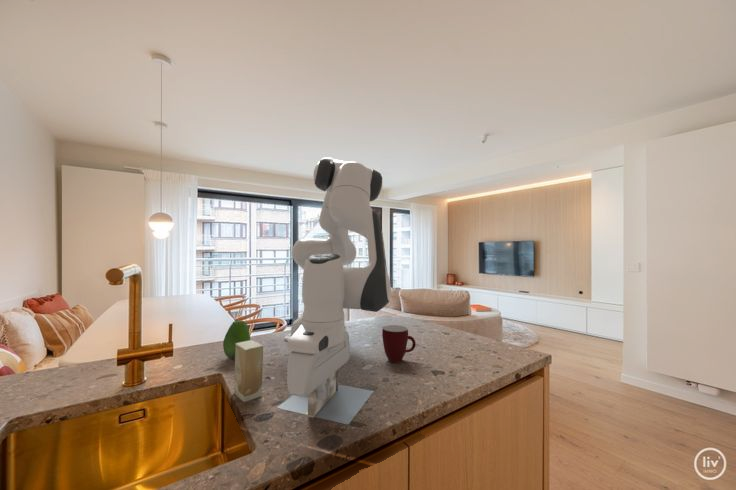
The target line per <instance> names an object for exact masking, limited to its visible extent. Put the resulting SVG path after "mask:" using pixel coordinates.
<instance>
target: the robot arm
mask: <svg viewBox="0 0 736 490" xmlns="http://www.w3.org/2000/svg"><path fill="white" fill-rule="evenodd" d="M313 181H314V185H315V187H316V188H317V189H319V190H321V192H322V191H323V192H326V193H325V195H324V199H323V202H322V206H321V211H320V214H319V218H318V224H319V226H320V227H321V229H322V230H323V231H324V232H325V233H327V234H328V235H327V237H308V238H302V239H298V240H296V241H295V242H294V244H293V247H292V250H291V254H292V259H293V261H294V262H295V264H296V265H298V267H300V268H301V269H302V270H303V272H302V282H301V283H302V284H301V298H302V302H303V311H302V314H301V316H299V317H298V318H297V319H295V320H294V321H293V323H292V325H291V328H290V333H288V334H286V335H284V341H285V342H286V349H287V351H288V352H289V351H290V353H289V355H288V358H287V366H286V368H287V369H286V371H287V372H286V373H287V374H286V382H287V385H286V387H287V391H288V392H289V394H290V395H291V396H292V395H294V396H299V397H307V396H308V395H309V394H310V393H312V392H313V391H314V390H315V389H316V390H317V399H318V400H322V401H324V400H325V399H326V398H327V397H328V396H329V388H330V385H331V381H332V377H333V373H335V372H336V371H337V370H338V371H339V370H340V368H342V367H343V366H344V365H346V363H348V362H349V360H350V356H351V348H350V345H351V344H350V336H349V332H348V331H347V329H346V322H345V320H346V319H345V315H346V314H345V311H344V309H345V310H347V309H349V310H362V311H365V312H366V311H368V312H374V313H375V312H376V313H377V312H379V311H381V310H382V309H383V308H384V307H386V306H387V305H388V304H389V303H390V300H391V298H392V297H391V295H392V285H391V280H390V276H389V274H388V268H387V267H388V266H387V259H386V258H387V257H386V251H385V242H384V234H383V227H382V222H381V218H380V216H379V215H380V214H379V213H378V212H377V211H376V210H374V209H373V208H372V207H371V205H370V204H371V203H370V202H373V201H375V200H377V199H378V197H379V196H380V194H381V191H382V188H383V176H382V174H381V173H380V172H379V171H377V170H375V169H374V168H369V167H367V166H365V165H364V164H362V163H361V162H358V161H345V160H341V159H335V158H334V157H322V158H320V159H319V161H318V162H317V163H316V165H315V167H314V170H313ZM349 231H350V232H354V233H357V234H358V235H361V236H363V237H364V238H365V239H366V241H367V253H368V264H367V266H364V267H348V266H349V265H351V264H352V263H354V261H355V260H356V257H357V248H356V245H355V243H354V242H353V241H352V240H351V239H350V236H349V235H350V234H349ZM344 266H347V267H344ZM298 327H299V328H298Z"/></svg>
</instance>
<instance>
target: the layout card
mask: <svg viewBox="0 0 736 490" xmlns="http://www.w3.org/2000/svg"><path fill="white" fill-rule="evenodd" d="M373 393H374V390H370V389H364V388H360V387H353V386H349V385H343V384H338V391H335V392H334V394H333V395H332V396H331V397H330V398H329V400H328V401H327V402H326V403H325V404H324V405H323V407H322V408H321V409H320V410H319V411H318V412H317V414H316V415H315V416H314V417H313V418H318V419H322V420H327V421H331V422H334V423H338V424H343V425H346V426H347V425H348V426H349V425H350V424H351V422H352V420H353V419H354V418H355V417H356V415H358V413H359V412H360V411H361V409H362V408H363V406H365V404H366V402H368V400H369V399H370V397H371V396H372V394H373ZM276 409H279V410H284V411H288V412H292V413H296V414H300V415H305V416H308V396H307V397H299V396H294V395H291V396H289V397H288V398H287V399H285V401H283V402H282V403H281V404H279V405H278V406H277V407H276Z"/></svg>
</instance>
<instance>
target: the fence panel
mask: <svg viewBox="0 0 736 490" xmlns="http://www.w3.org/2000/svg"><path fill="white" fill-rule="evenodd" d="M335 391H336V372H335V373H333V377H332V381H331V385H330V388H329V396H328V397H327V398H326V399H325V400H324V401H322V400H318V399H317V390H316V389H315V390H314V391H313V392H312V393H310V394H309V395H308V415H307V417H308V418H312V419H313V418H315V417H314V416H315V415H316V414H317V412H318V411H319V410H320V409H321V408H322V407H323V405H324V404H325V403H326V402H327V401H328V400H329V398H330V397H331V396H332V395H333V394H334V392H335Z"/></svg>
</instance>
